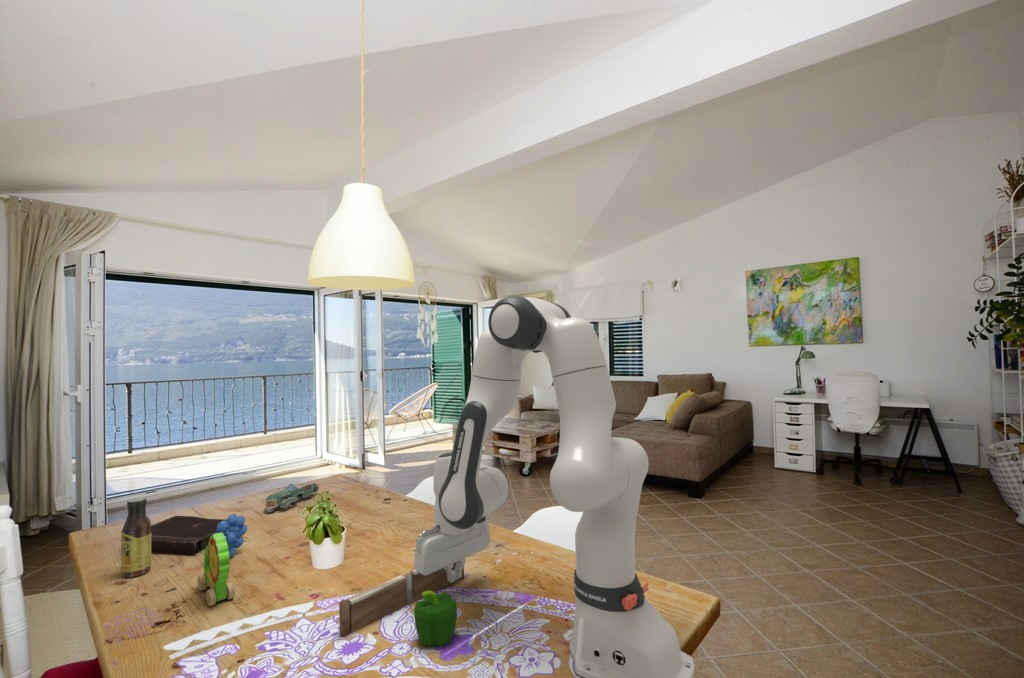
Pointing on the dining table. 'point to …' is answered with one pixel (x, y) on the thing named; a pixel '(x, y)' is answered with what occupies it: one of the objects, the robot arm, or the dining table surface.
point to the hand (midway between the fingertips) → (454, 579)
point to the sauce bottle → (136, 540)
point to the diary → (182, 535)
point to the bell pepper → (435, 618)
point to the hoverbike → (289, 496)
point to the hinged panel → (430, 582)
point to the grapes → (233, 532)
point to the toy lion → (216, 570)
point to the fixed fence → (374, 604)
